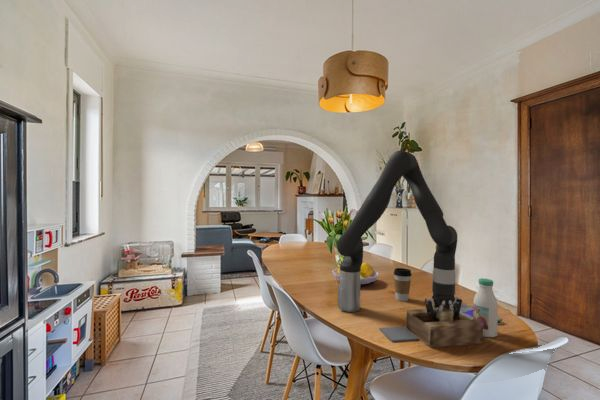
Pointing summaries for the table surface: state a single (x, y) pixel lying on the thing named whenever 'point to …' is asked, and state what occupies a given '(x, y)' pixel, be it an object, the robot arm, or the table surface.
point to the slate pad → (398, 334)
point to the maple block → (446, 315)
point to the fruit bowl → (366, 274)
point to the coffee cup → (402, 283)
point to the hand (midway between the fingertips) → (442, 326)
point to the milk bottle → (486, 308)
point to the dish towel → (471, 312)
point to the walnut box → (444, 329)
